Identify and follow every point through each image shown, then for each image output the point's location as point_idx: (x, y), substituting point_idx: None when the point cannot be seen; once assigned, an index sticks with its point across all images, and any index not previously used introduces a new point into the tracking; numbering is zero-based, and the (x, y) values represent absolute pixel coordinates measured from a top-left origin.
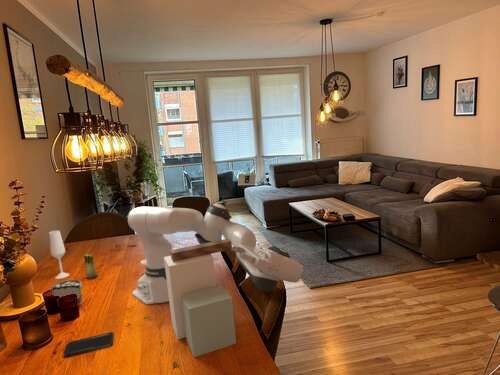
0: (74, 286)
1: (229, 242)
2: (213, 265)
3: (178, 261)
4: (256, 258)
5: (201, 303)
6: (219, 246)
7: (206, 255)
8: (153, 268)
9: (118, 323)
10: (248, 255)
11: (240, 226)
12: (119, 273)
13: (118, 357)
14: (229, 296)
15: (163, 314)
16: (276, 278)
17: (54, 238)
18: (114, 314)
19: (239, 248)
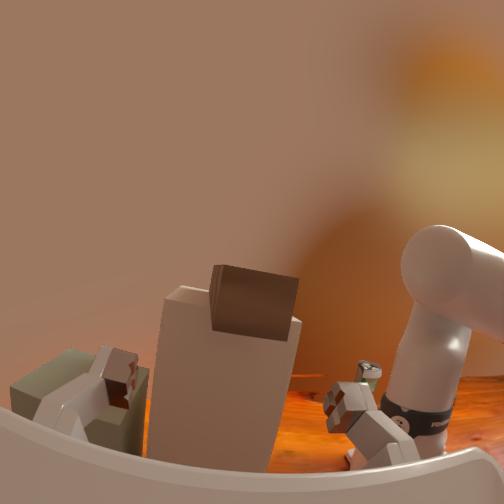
0: (362, 371)
1: (221, 271)
2: (159, 340)
3: (203, 292)
4: (4, 411)
5: (66, 360)
6: (216, 282)
7: (200, 302)
8: (386, 391)
9: (282, 427)
10: (75, 379)
11: None
12: (468, 419)
13: None
14: (22, 388)
15: (291, 473)
16: None
17: None
18: (318, 426)
19: (386, 448)
